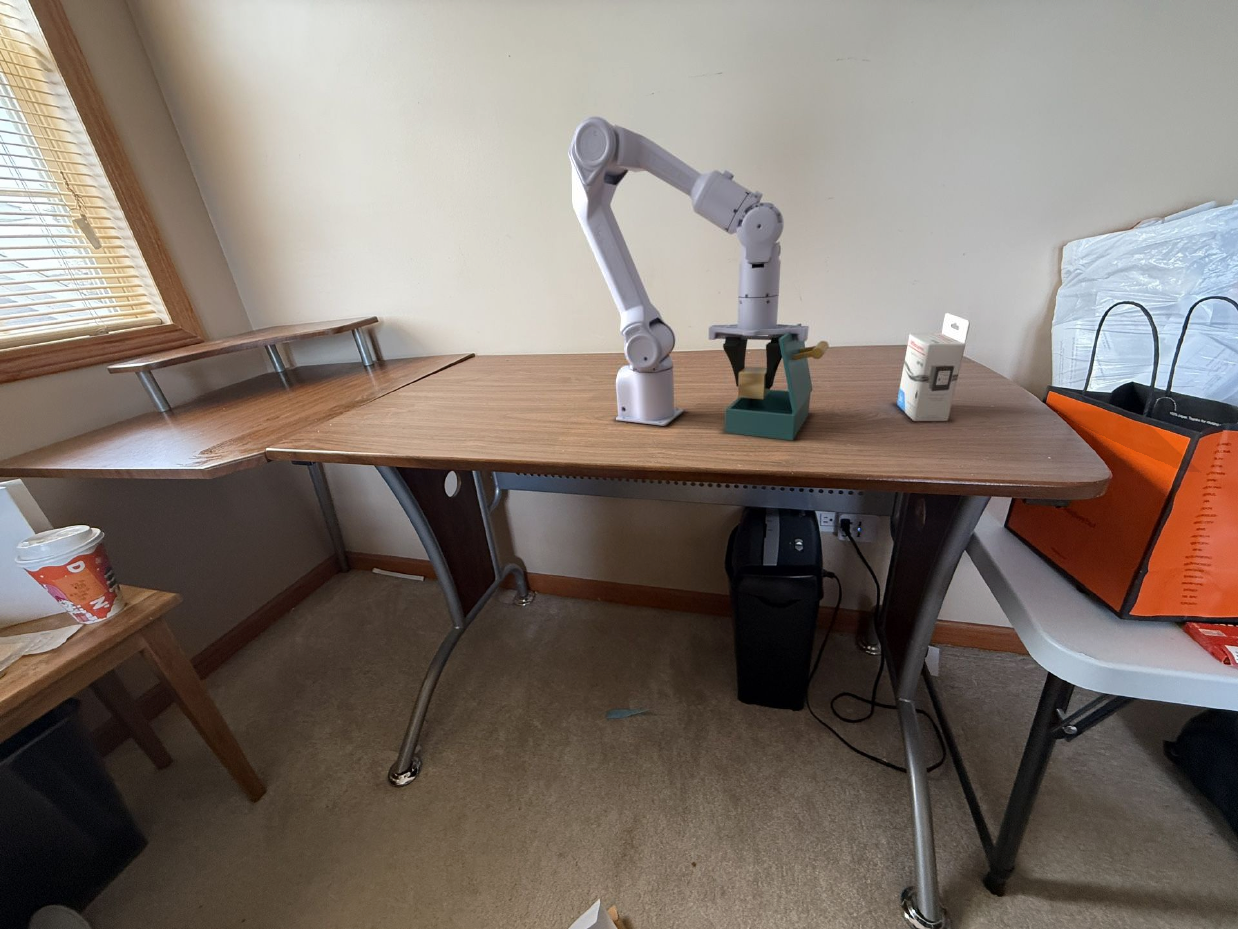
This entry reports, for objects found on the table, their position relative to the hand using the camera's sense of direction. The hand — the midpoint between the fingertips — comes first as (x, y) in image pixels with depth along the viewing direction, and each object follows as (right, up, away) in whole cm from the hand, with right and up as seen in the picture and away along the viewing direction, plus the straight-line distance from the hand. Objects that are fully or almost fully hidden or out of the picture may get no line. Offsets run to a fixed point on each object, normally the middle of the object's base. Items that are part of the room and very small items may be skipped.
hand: (754, 386), depth 76 cm
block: (0, -1, +1) cm, 1 cm away
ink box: (+27, -4, +1) cm, 27 cm away
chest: (+3, -6, +1) cm, 6 cm away
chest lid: (+5, +2, -4) cm, 7 cm away
